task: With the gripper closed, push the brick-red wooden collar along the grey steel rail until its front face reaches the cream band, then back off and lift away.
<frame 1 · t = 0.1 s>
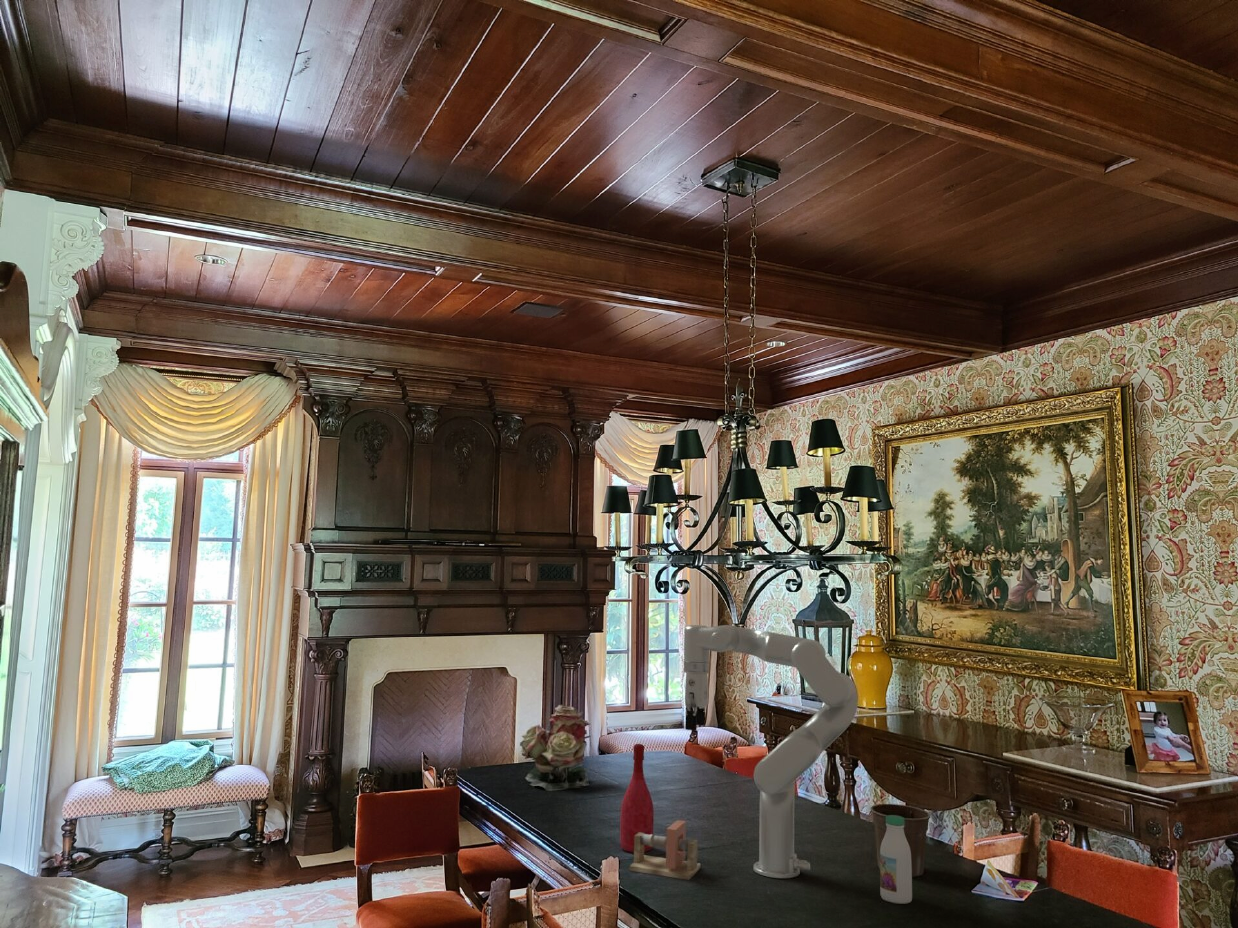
hand: (695, 727, 251), 37 cm above the table, tool pointing down, fingers open, 9 cm apart
milk bottle: (896, 899, 218), on the table
wine bottle: (636, 849, 254), on the table
rose bouquet: (557, 783, 336), on the table
collar: (676, 843, 236), point 7 cm above the table, slide at -3.0 cm
plant pot: (901, 871, 241), on the table
rail stand: (665, 868, 236), on the table
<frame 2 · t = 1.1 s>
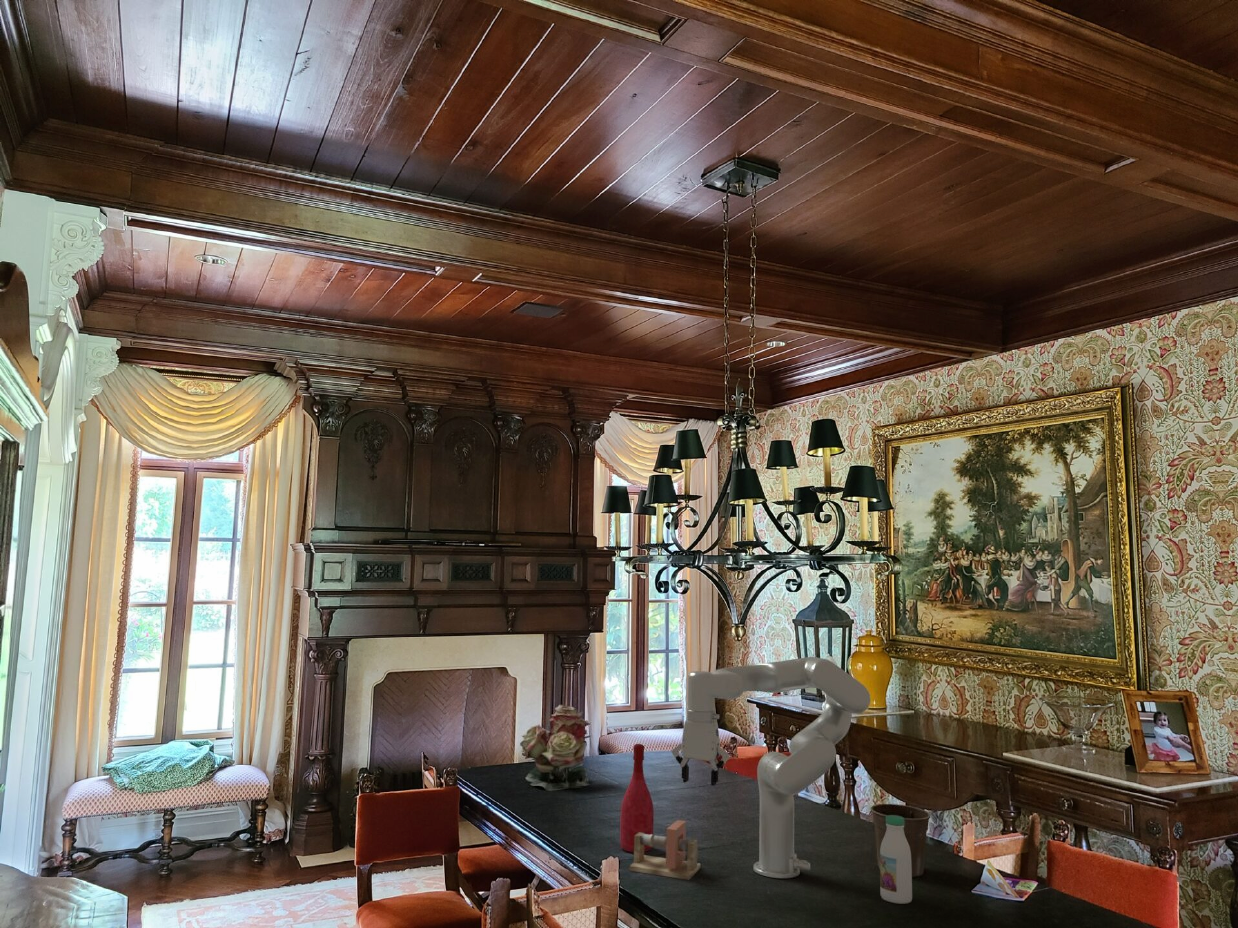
hand: (699, 782, 236), 24 cm above the table, tool pointing down, fingers open, 7 cm apart
nothing on the table moved.
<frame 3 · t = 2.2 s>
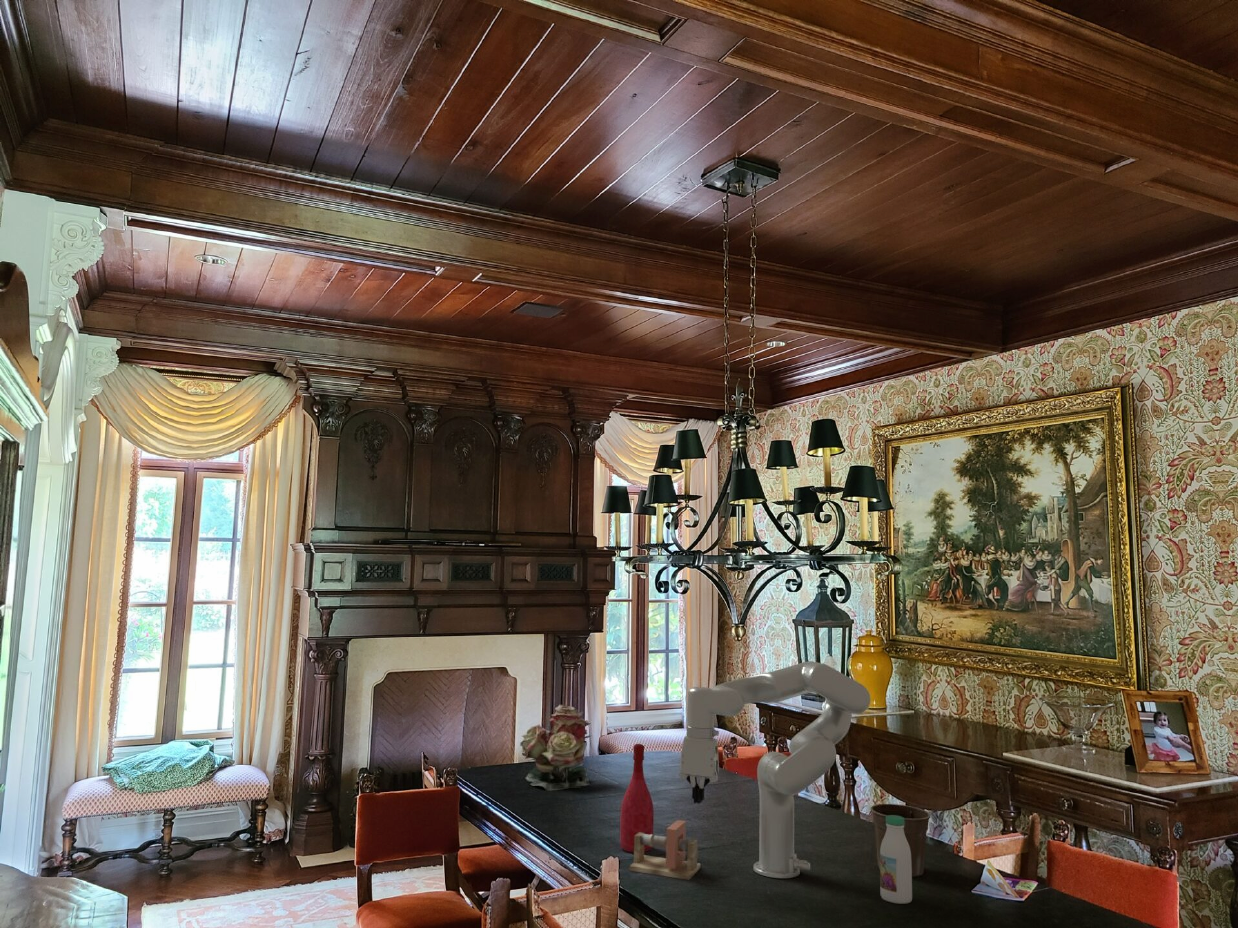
hand: (697, 801, 235), 19 cm above the table, tool pointing down, fingers closed
nothing on the table moved.
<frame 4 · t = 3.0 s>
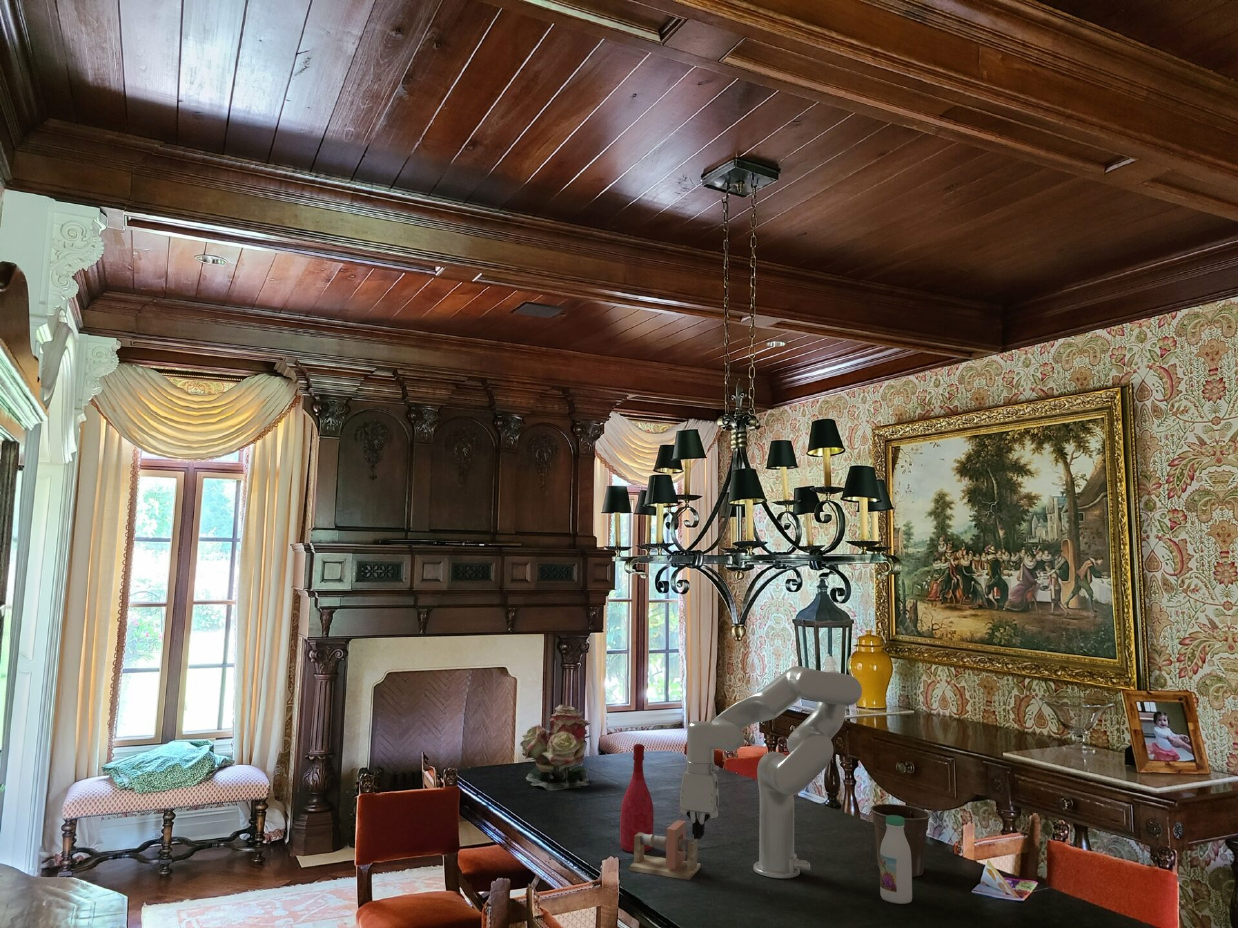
hand: (698, 837, 234), 9 cm above the table, tool pointing down, fingers closed
nothing on the table moved.
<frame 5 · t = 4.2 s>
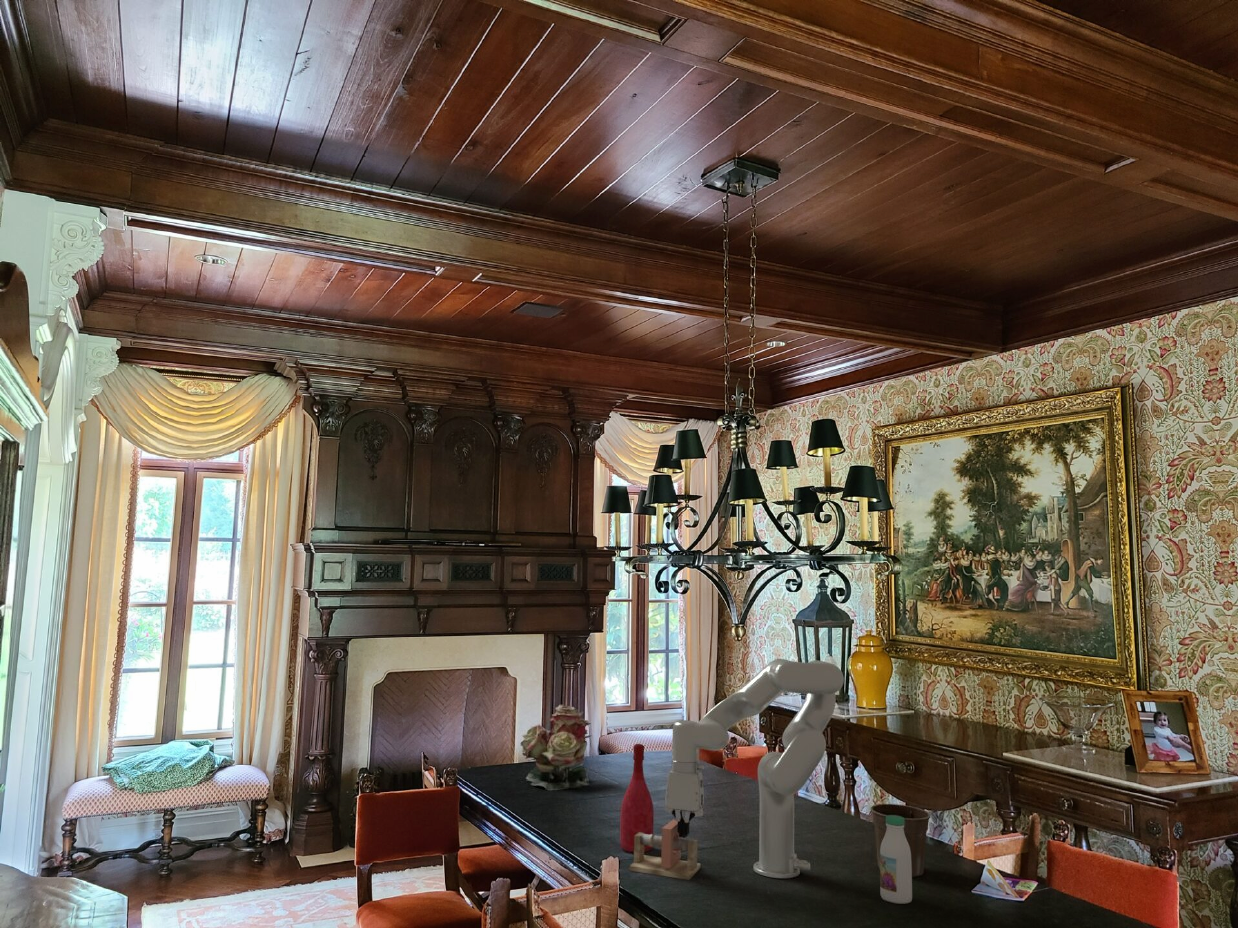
hand: (683, 836, 235), 9 cm above the table, tool pointing down, fingers closed
collar: (671, 843, 236), point 7 cm above the table, slide at -1.7 cm, touching gripper
everything else where it was.
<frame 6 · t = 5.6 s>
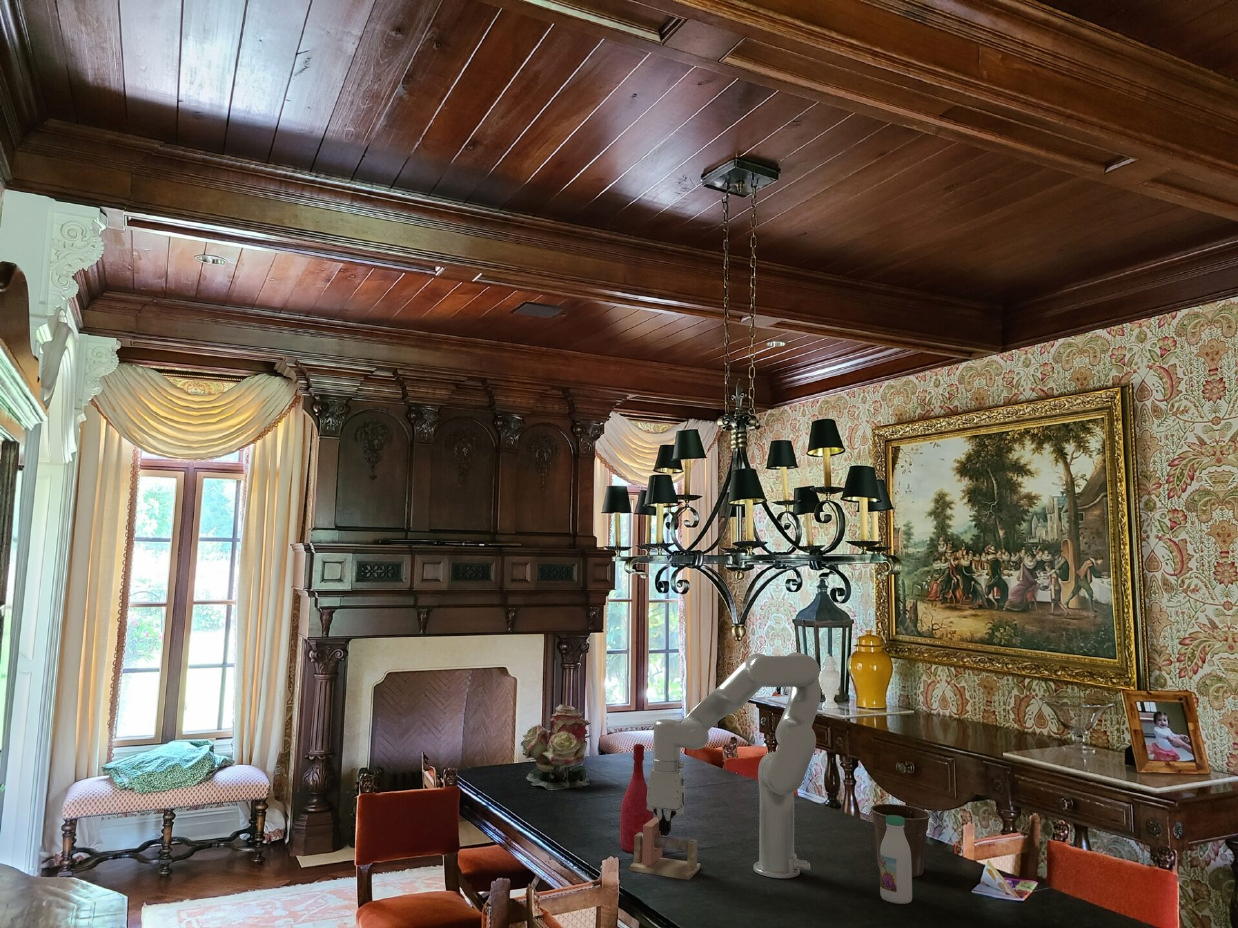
hand: (664, 834, 238), 9 cm above the table, tool pointing down, fingers closed
collar: (652, 840, 238), point 7 cm above the table, slide at 3.8 cm
everything else where it was.
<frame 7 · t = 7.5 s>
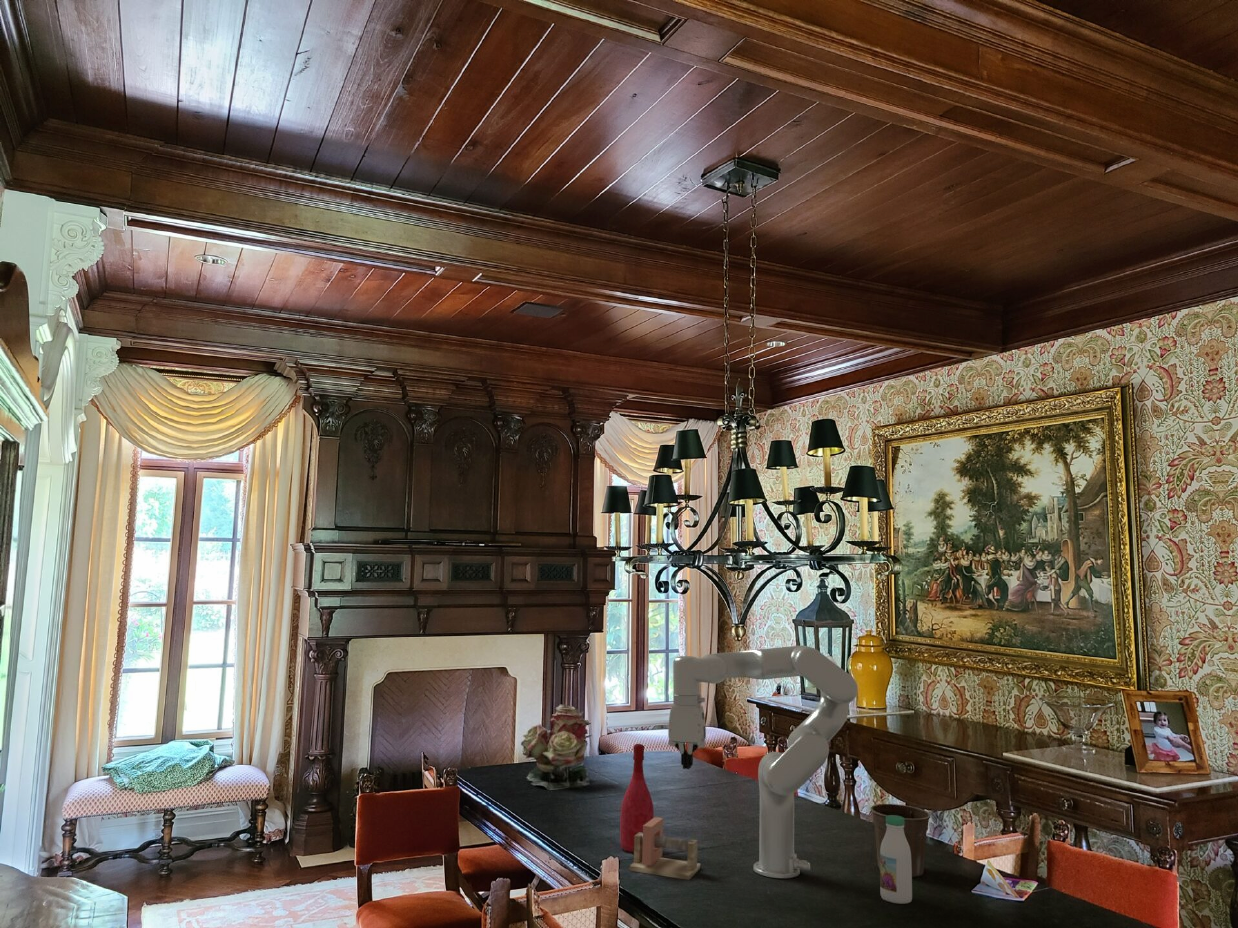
hand: (687, 767, 240), 27 cm above the table, tool pointing down, fingers closed
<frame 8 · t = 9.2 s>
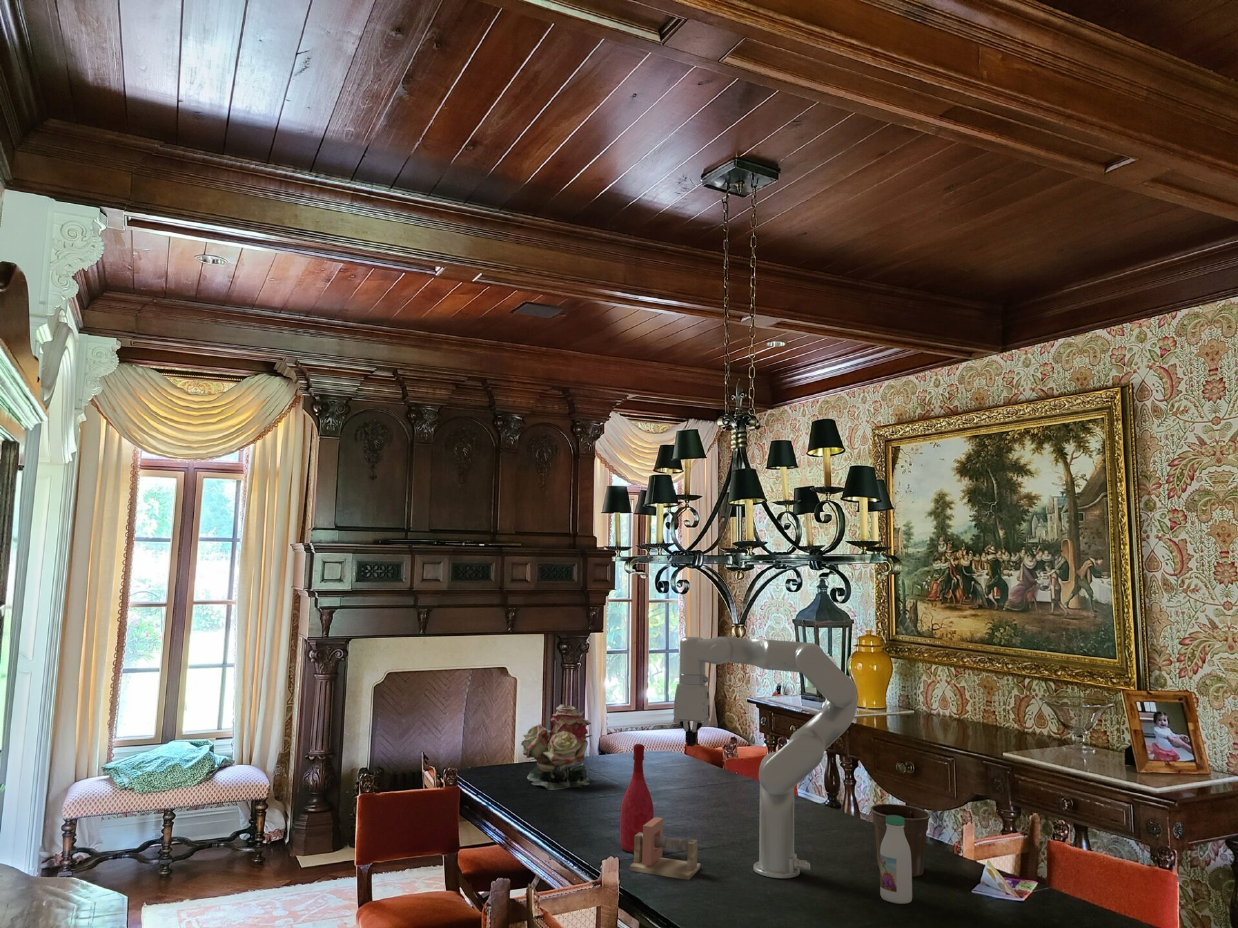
hand: (691, 745, 247), 32 cm above the table, tool pointing down, fingers closed
at the end: collar slide at 3.8 cm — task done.
